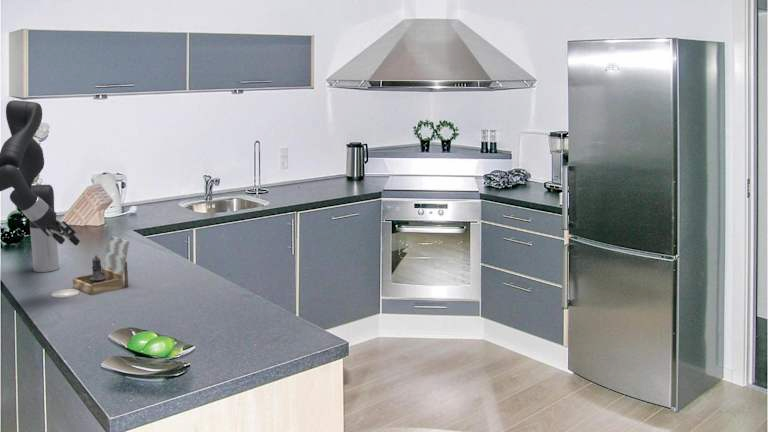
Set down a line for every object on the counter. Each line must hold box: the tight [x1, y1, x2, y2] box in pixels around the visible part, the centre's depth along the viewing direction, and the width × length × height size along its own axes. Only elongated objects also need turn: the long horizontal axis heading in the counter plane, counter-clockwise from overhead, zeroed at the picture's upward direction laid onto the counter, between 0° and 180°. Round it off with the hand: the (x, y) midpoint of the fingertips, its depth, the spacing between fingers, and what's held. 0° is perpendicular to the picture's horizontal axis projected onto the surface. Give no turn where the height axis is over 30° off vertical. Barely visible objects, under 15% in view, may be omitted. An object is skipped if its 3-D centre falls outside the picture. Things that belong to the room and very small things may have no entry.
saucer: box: [51, 288, 80, 299], centre depth 286 cm, size 9×9×1 cm
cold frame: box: [72, 235, 130, 295], centre depth 294 cm, size 14×15×17 cm
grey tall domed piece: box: [89, 254, 106, 285], centre depth 293 cm, size 6×6×12 cm
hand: (70, 242), depth 285 cm, fingers open, 8 cm apart
